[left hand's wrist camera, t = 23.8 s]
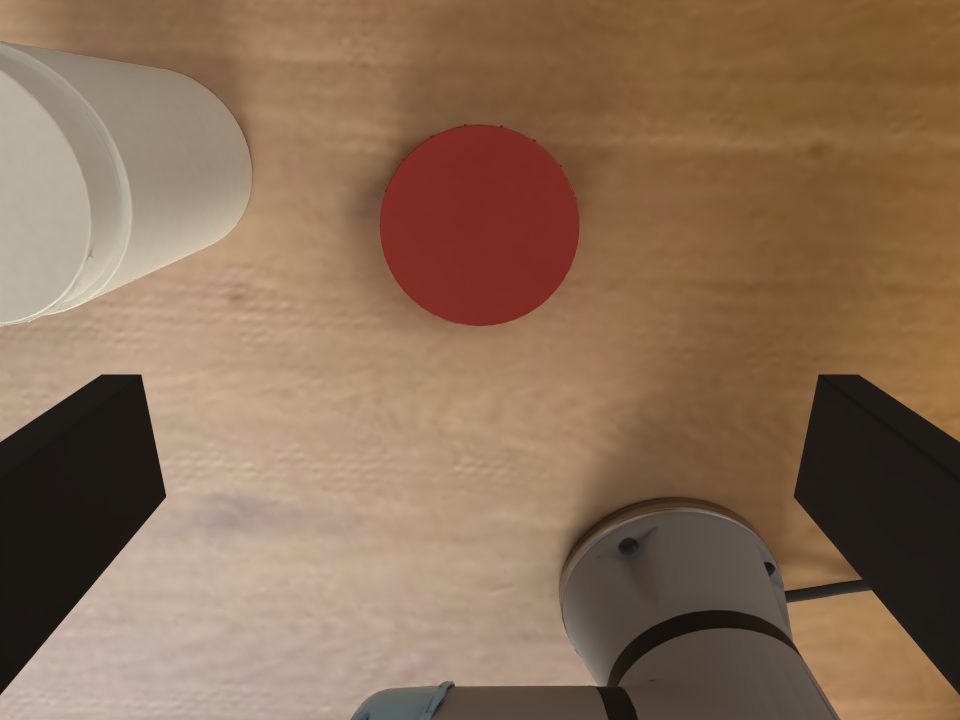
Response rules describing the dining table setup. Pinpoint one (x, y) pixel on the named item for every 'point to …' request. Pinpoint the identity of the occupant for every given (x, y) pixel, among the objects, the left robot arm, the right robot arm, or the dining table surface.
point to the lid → (479, 225)
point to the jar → (106, 176)
